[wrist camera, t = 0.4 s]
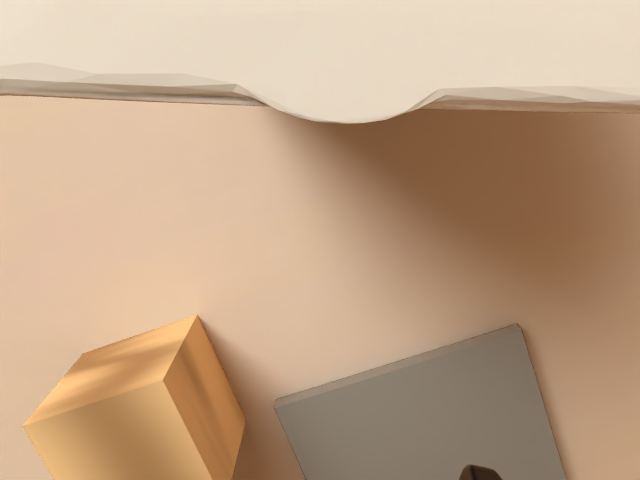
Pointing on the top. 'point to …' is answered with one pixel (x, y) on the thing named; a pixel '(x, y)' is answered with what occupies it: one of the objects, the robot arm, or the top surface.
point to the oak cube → (142, 412)
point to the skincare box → (329, 54)
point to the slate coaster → (428, 417)
